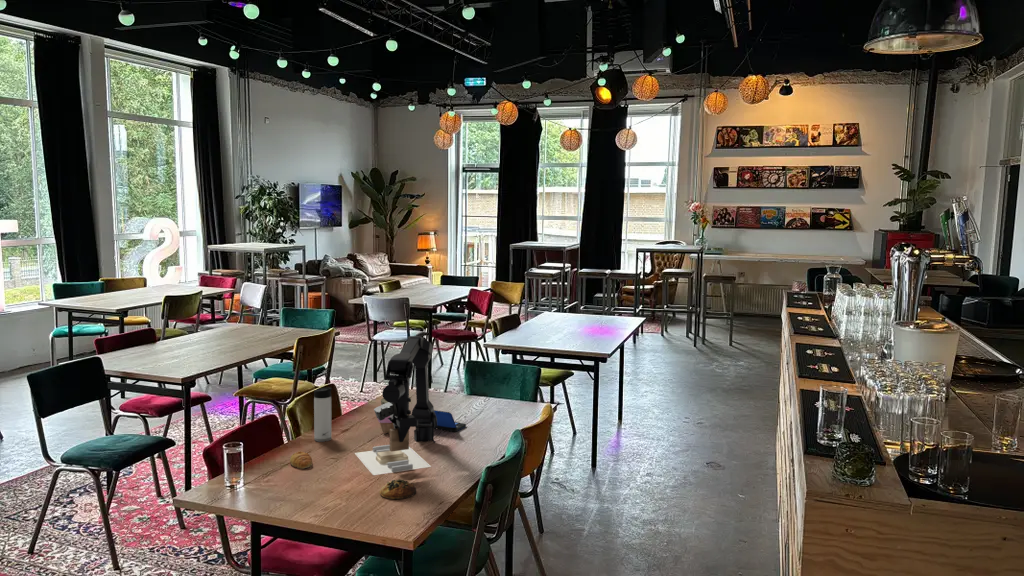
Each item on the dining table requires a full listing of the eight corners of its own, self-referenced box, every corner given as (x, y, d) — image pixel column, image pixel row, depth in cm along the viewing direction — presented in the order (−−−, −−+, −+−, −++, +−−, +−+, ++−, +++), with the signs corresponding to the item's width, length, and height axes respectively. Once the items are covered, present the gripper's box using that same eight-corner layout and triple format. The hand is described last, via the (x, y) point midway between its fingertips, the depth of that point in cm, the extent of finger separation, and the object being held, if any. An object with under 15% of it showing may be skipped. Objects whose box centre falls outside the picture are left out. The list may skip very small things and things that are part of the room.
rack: (408, 448, 258) (408, 441, 258) (431, 469, 237) (431, 462, 236) (354, 455, 249) (354, 448, 249) (373, 478, 228) (373, 470, 227)
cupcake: (402, 430, 280) (402, 405, 279) (397, 437, 271) (397, 411, 270) (381, 429, 281) (381, 404, 280) (374, 435, 272) (374, 410, 271)
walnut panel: (406, 447, 236) (406, 427, 236) (408, 449, 235) (408, 428, 234) (389, 449, 234) (389, 429, 233) (391, 451, 232) (391, 430, 231)
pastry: (317, 467, 237) (317, 456, 237) (297, 471, 233) (297, 460, 233) (307, 459, 245) (306, 449, 244) (287, 463, 241) (287, 452, 240)
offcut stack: (403, 455, 247) (403, 448, 247) (408, 459, 243) (408, 453, 243) (375, 459, 243) (375, 452, 242) (379, 463, 238) (379, 457, 238)
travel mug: (327, 442, 263) (327, 390, 261) (311, 441, 264) (311, 389, 262) (335, 437, 269) (334, 386, 267) (319, 436, 270) (318, 385, 268)
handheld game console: (467, 427, 287) (467, 405, 286) (451, 436, 275) (451, 412, 274) (434, 422, 293) (434, 400, 293) (416, 430, 281) (417, 407, 281)
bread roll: (419, 498, 212) (416, 482, 212) (382, 506, 209) (379, 490, 209) (414, 486, 223) (411, 470, 222) (378, 493, 220) (376, 478, 219)
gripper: (368, 390, 237) (368, 436, 239) (384, 404, 221) (384, 452, 222) (400, 387, 242) (400, 432, 244) (418, 400, 226) (418, 448, 227)
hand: (400, 440), depth 234 cm, fingers closed on walnut panel, 2 cm apart
